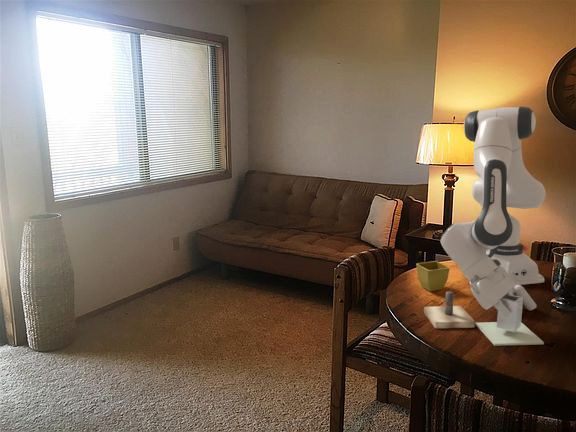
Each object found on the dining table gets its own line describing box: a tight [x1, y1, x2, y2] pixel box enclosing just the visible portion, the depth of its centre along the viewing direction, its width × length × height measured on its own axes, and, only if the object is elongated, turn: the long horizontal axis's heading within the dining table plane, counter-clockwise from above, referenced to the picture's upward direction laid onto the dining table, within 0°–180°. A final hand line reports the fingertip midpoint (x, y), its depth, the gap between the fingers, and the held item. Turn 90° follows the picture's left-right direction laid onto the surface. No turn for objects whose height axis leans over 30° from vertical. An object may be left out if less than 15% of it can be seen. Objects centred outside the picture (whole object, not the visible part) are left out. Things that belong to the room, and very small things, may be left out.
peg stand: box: [423, 290, 476, 329], centre depth 160 cm, size 12×12×9 cm
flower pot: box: [415, 260, 450, 292], centre depth 186 cm, size 9×9×9 cm
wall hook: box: [510, 285, 537, 311], centre depth 167 cm, size 8×10×10 cm
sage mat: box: [475, 321, 545, 347], centre depth 150 cm, size 14×14×1 cm
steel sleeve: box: [496, 294, 524, 332], centre depth 149 cm, size 5×5×9 cm
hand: (512, 310), depth 148 cm, fingers closed on steel sleeve, 5 cm apart
